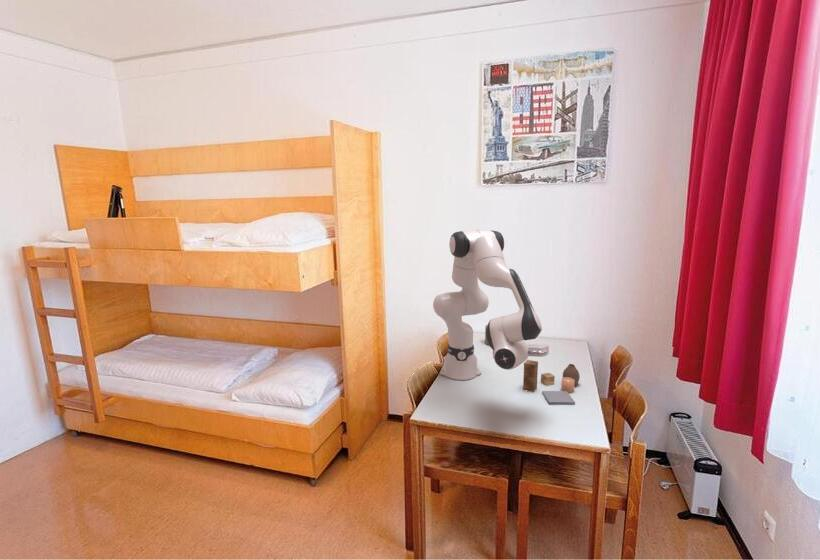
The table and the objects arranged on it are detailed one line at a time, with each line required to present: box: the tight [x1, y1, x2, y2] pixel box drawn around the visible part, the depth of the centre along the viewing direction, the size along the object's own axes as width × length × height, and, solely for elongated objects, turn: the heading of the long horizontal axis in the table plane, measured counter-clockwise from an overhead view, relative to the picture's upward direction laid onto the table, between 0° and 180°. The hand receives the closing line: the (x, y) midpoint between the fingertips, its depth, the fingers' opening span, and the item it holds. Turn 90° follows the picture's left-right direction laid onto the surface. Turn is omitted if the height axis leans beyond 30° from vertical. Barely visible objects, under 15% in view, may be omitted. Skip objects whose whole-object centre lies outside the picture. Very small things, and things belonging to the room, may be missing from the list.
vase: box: [562, 363, 581, 387], centre depth 186 cm, size 7×7×9 cm
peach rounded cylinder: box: [560, 376, 575, 394], centre depth 180 cm, size 5×5×5 cm
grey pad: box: [541, 390, 576, 406], centre depth 173 cm, size 10×10×1 cm
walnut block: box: [522, 359, 539, 393], centre depth 181 cm, size 4×4×12 cm
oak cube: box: [540, 372, 555, 387], centre depth 187 cm, size 4×4×4 cm
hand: (524, 346), depth 168 cm, fingers open, 8 cm apart
